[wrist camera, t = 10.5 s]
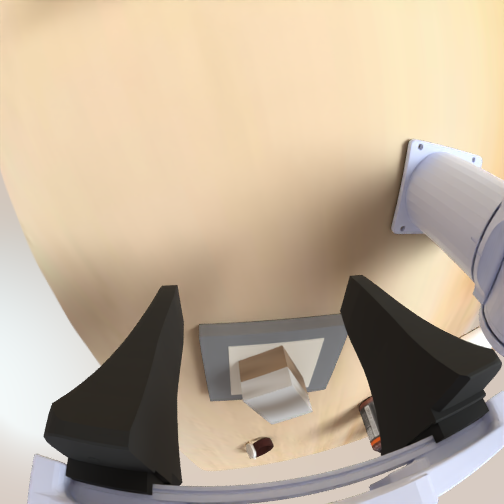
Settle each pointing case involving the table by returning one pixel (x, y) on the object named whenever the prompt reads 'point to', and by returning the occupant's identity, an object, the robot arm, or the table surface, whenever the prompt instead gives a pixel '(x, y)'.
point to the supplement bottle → (371, 423)
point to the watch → (259, 447)
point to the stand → (266, 338)
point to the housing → (274, 386)
